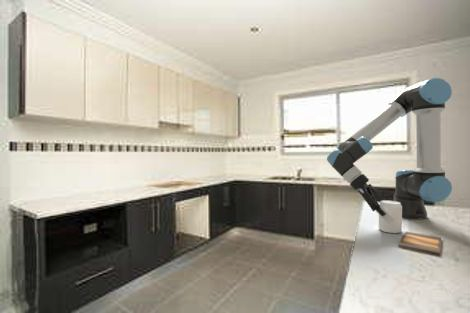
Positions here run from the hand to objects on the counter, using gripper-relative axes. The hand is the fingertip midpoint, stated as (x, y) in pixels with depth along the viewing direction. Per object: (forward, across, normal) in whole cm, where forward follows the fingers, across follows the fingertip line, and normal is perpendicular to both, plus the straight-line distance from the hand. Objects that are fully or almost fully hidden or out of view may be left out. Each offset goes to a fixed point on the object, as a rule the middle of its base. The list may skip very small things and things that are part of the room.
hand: (394, 218), depth 102 cm
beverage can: (+3, 0, -5) cm, 6 cm away
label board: (+11, +9, +3) cm, 14 cm away
